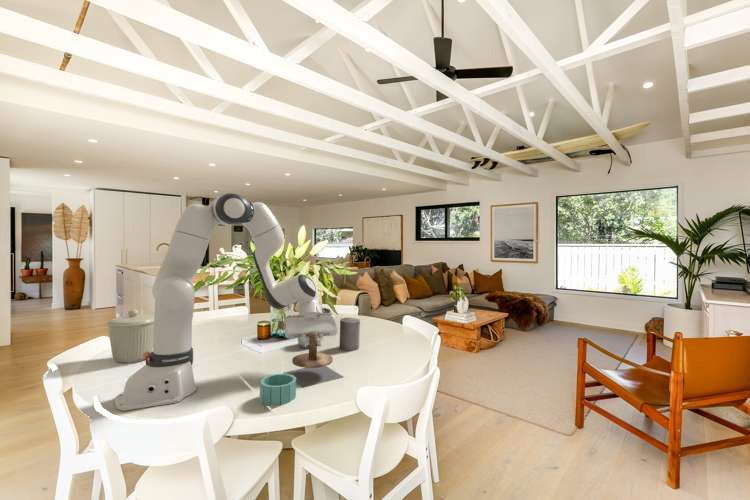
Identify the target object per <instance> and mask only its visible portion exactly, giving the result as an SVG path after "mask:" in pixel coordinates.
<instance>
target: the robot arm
mask: <svg viewBox="0 0 750 500" xmlns="http://www.w3.org/2000/svg"><path fill="white" fill-rule="evenodd" d="M239 224H241V225H242V226H244V227H245V228H246V229H247V230H248V232H249V235H250V236H251V238H252V240H253V242H254V250H253V252H252V257H253V261H254V264H255V268H256V270H257V273H258V275H259V278H260V279H259V280H260V282H261V284H262V286H263V289H264V292H265V298H266V300H267V303H268V305H269V306H270V307H271V308H273V309H276V310H280V309H284V308H286V307H288V306H290V305H292V304H294V303H295V304H296V303H297V302H298V308H297V309H298V314H297V315H293V316H291V315H289V316H287V317H285V318H284V325H285V326H286V328H285V337H284V338H286V339H298V338H301V339H302V341H303V342H304V343H305V347H304V348H309V345H310V344H309V341H307V340H306V339H305V338H306V337H309V332H317V337H319V340H317V347H321V346H322V340H323V338H324V337H335V336H336V335H337V334H338V332H339V326H338V323H337V320H336V317H335V316H334V315H333V314H334V313H333V309H331V308H327V307H324V306H322V305H321V304H320V295H319V290H318V287H317V284H316V282H315V280H313V279H312V278H311V277H309V276H307V275H305V274H301V273H300V274H297V275H294V276H292V277H290V278H288V279H286V280H283V281H281V282H276V280H275V278H274V275H273V272H272V270H271V269H272V268H271V265H270V260H271V259H272V258H273V256H274V255H275V254H277V253H278V251H279V250H280V249H281V248H282V246H283V244H284V241H285V234H284V232H283V229H282V227H281V225H280V223H279V222H278V219H277V218H276V216H275V215H274V214H273V212H272V211H271V209H270V208H269V207H268V206H267V205H266V204H265V203H263V202H261V201H255V202H251V201H249V200H247V199H246V198H245V197H243V196H241V195H239V194H237V193H233V192H230V193H229V192H228V193H225V194H221V195H219V196H218V197H216V198H215V199H213V200H212V201H211V202H210V203H209V204H207V205H205V204H201V203H192V204H191V203H190V204H188V205H187V206H186V207H185V208H184V210H183V212H182V213H181V215H180V217H179V219H178V221H177V223H176V225H175V228H174V230H173V234H172V236H171V239H170V242H169V244H168V248H167V251H166V253H165V255H164V258H163V260H162V262H161V265H160V267H159V270H158V273H157V274H156V276H155V280H154V282H153V285H152V290H151V292H152V296H153V298H154V315H153V316H154V327H153V351H152V352H151V353H149V352H148V351H147V352H145V353H144V355H143V357H144V358H145V365H144V366H142V367H141V368H140V369H138V370H137V371H136V372H134V373H133V374H132V375H131V376H129V377H128V378H127V380H126V382H125V385H124V388H123V391H121V392H120V393H119V394H117V396H116V397H115V400H114V406H115V408H116V409H117V410H119V411H124V412H125V411H130V410H138V409H143V408H150V407H156V406H163V405H169V404H174V403H175V404H177V403H179V402H180V401H182V400H183V399H185V398H186V397H188V396H190V395H192V394H193V393H195V391H196V390H197V387H198V386H197V385H196V381H195V377H194V371H193V364H194V363H193V362H194V348H193V345H192V344H193V343H192V335H193V334H192V332H193V331H192V330H193V329H192V328H193V326H192V325H193V318H194V310H195V299H196V298H195V296H196V291H195V287H194V285H193V282H194V279H195V277H196V275H197V273H198V271H199V269H200V267H201V265H202V264H203V261H204V258H205V257H206V251H207V249H208V247H209V244H210V240H211V236H212V233H213V231H214V230H215V228H216V227H217V226H221V227H225V226H227V227H232V226H236V225H239Z"/></svg>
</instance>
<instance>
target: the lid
mask: <svg viewBox="0 0 750 500" xmlns="http://www.w3.org/2000/svg"><path fill="white" fill-rule="evenodd" d="M309 344H310V345H309V347H308V352H307V353H301V354H297V355H295V356H293V358H292V359H291V362H292V364H293V365H294V366H296V367H300V368H317V367H323V366H327V367H328V366H329V365H331V364H332V363H333V357H332V356H331V355H330V354H327V353H321V352H318V346H317V332H309Z"/></svg>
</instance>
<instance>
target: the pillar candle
mask: <svg viewBox="0 0 750 500" xmlns="http://www.w3.org/2000/svg"><path fill="white" fill-rule="evenodd" d="M360 327H361V320H360V318H357V317H342V318H340V321H339V349H341V350H342V351H349V352H350V351H357V350H359V348H360V334H361V333H360V329H361V328H360Z"/></svg>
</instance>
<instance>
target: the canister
mask: <svg viewBox="0 0 750 500" xmlns="http://www.w3.org/2000/svg"><path fill="white" fill-rule="evenodd" d="M127 314H128V315H122V316H116V317H115V318H112V319H110V320H109V321H107V322H106V326H108V335H109V343H110V349H111V354H112V355H111V356H112V358H113V360H114V361H115V362H116V363H119V364H132V362H133V363H138V361H139V362H142V361H144V360H145V361H146V359H145V358H144V357H143V355H144V353H145V352H147V351H148V352H149V353H151V352H153V327H154V315H152V314H147V313H146V314H143V313H142V314H141V313H140V314H139V310H137V309H130V310H129V311H128V312H127Z"/></svg>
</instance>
